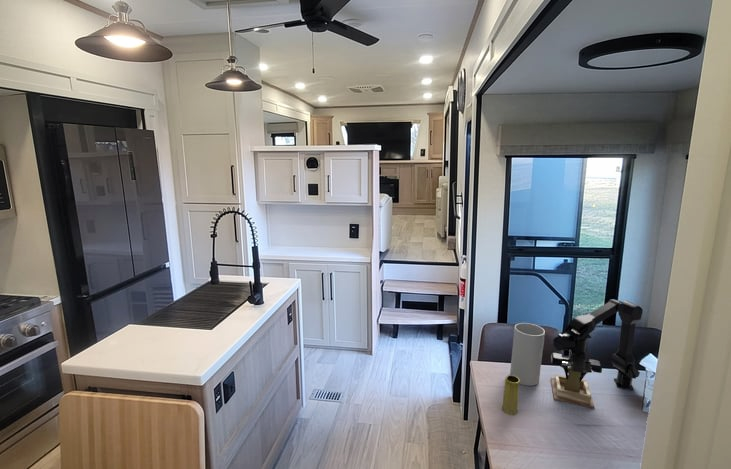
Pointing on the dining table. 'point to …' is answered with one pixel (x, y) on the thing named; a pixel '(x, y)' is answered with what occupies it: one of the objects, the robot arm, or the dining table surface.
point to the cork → (573, 381)
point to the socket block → (571, 392)
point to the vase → (511, 395)
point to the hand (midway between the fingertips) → (573, 380)
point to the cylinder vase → (527, 353)
